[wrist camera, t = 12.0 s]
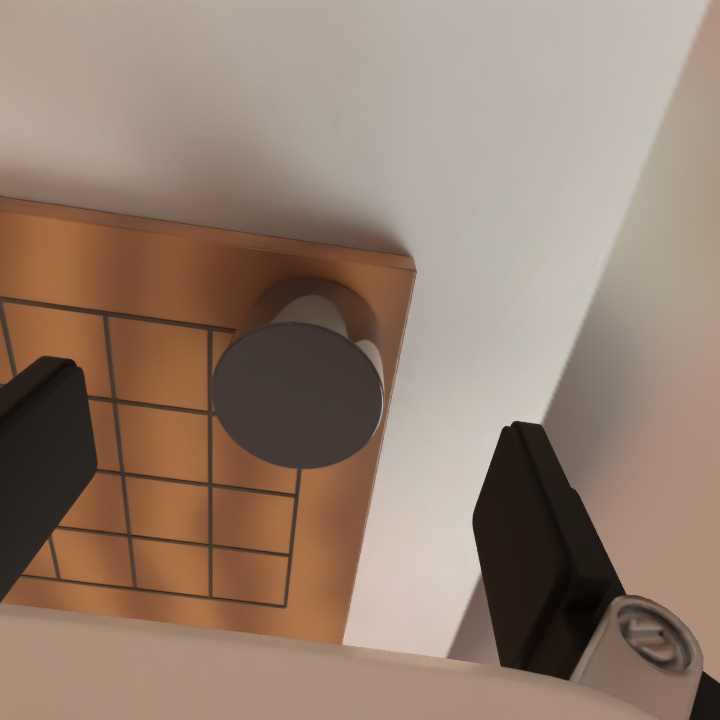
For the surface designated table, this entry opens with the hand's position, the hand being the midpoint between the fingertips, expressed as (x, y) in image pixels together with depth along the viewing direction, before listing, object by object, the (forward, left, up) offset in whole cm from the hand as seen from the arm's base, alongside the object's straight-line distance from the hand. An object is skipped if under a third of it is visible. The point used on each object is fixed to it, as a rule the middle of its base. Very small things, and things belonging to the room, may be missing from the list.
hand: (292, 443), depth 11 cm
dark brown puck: (0, 0, -6) cm, 6 cm away
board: (+10, +3, -8) cm, 13 cm away
